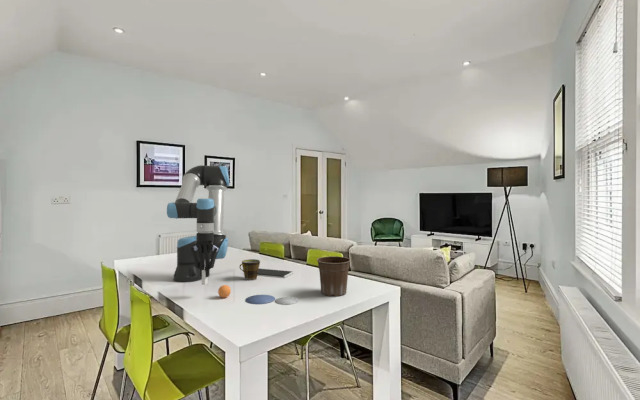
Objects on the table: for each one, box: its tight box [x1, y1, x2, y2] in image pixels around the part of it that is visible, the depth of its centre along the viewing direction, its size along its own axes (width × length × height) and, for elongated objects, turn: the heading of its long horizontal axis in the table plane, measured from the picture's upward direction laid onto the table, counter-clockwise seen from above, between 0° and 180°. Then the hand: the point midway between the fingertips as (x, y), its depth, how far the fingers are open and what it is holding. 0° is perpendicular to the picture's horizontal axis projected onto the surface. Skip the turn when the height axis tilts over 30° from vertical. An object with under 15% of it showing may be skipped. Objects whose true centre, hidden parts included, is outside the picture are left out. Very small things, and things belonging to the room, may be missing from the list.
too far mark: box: [274, 296, 299, 306], centre depth 146 cm, size 10×10×1 cm
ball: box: [217, 284, 232, 298], centre depth 150 cm, size 6×6×6 cm
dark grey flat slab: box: [257, 268, 295, 279], centre depth 197 cm, size 13×27×2 cm, turn 71°
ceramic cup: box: [239, 258, 261, 281], centre depth 183 cm, size 13×10×10 cm
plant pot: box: [316, 255, 351, 297], centre depth 159 cm, size 16×16×16 cm
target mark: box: [245, 294, 276, 305], centre depth 148 cm, size 13×13×1 cm
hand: (204, 283), depth 151 cm, fingers closed
